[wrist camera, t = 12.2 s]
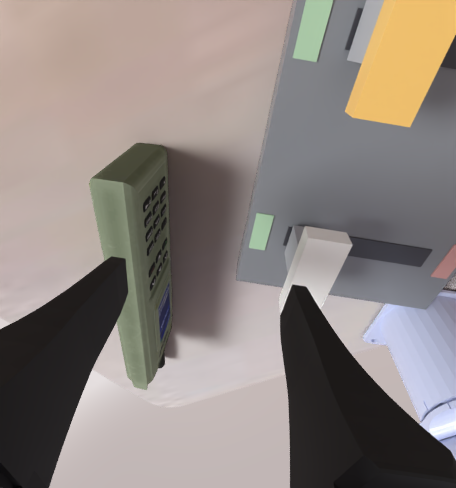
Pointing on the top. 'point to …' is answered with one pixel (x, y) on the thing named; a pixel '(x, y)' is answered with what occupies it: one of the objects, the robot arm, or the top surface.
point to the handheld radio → (138, 252)
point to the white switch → (314, 261)
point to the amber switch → (398, 57)
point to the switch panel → (353, 170)
